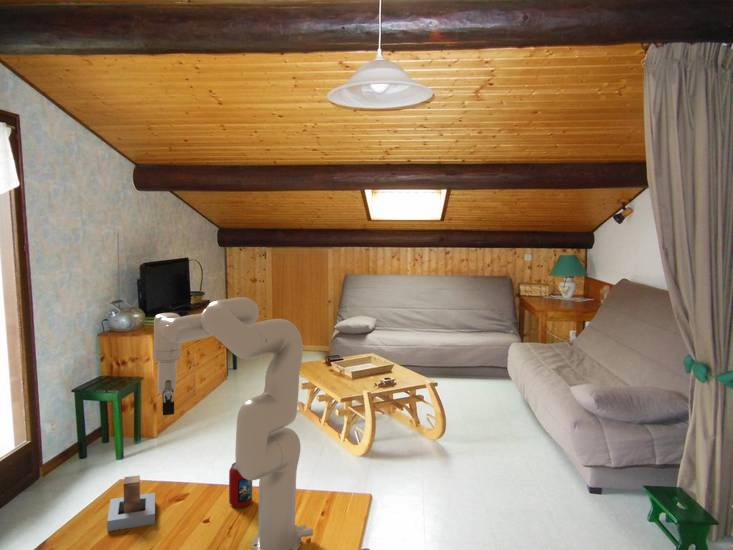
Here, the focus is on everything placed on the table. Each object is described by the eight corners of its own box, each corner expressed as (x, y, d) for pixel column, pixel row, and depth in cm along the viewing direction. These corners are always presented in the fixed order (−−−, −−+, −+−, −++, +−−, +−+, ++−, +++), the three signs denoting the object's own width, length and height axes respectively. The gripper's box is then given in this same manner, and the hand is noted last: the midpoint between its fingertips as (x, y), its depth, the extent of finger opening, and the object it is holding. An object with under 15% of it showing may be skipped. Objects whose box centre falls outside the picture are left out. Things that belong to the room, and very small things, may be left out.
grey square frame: (155, 502, 163) (155, 492, 163) (154, 523, 152) (154, 513, 152) (110, 508, 159) (110, 498, 158) (107, 531, 148) (107, 521, 147)
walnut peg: (140, 511, 158) (139, 475, 157) (139, 518, 154) (139, 481, 153) (125, 513, 156) (124, 477, 155) (124, 521, 153) (123, 483, 151)
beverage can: (246, 510, 160) (246, 471, 159) (225, 507, 161) (225, 468, 160) (255, 498, 167) (256, 461, 165) (235, 495, 168) (235, 458, 167)
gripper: (154, 347, 172) (155, 400, 174) (154, 362, 156) (154, 420, 158) (179, 346, 174) (180, 398, 176) (181, 361, 158) (182, 417, 160)
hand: (168, 408), depth 167 cm, fingers open, 9 cm apart
